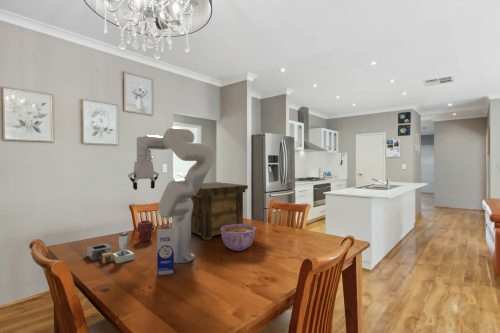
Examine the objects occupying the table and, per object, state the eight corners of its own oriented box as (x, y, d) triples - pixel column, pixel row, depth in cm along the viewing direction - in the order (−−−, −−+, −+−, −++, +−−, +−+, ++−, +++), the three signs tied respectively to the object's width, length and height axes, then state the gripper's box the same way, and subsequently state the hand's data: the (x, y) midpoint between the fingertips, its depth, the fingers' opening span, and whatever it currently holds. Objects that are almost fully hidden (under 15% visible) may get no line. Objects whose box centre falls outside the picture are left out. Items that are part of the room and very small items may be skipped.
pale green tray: (134, 259, 133) (134, 253, 133) (117, 263, 127) (117, 257, 127) (128, 255, 139) (128, 249, 139) (111, 259, 133) (111, 253, 133)
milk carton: (157, 275, 114) (156, 229, 113) (157, 269, 120) (157, 225, 120) (174, 273, 116) (174, 228, 115) (174, 267, 122) (174, 224, 122)
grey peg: (128, 257, 133) (129, 233, 133) (120, 259, 130) (120, 234, 130) (126, 255, 136) (126, 231, 136) (117, 257, 133) (117, 233, 133)
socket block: (111, 255, 138) (111, 247, 138) (92, 260, 131) (92, 251, 131) (106, 251, 144) (106, 243, 144) (87, 255, 138) (87, 247, 138)
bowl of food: (252, 256, 138) (252, 233, 138) (215, 253, 142) (215, 231, 142) (258, 244, 158) (258, 224, 157) (226, 242, 162) (226, 223, 161)
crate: (247, 232, 183) (247, 185, 182) (203, 243, 159) (203, 188, 158) (217, 223, 208) (217, 182, 208) (176, 231, 185) (176, 184, 184)
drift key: (112, 261, 130) (112, 253, 130) (103, 263, 127) (103, 255, 127) (105, 256, 137) (105, 248, 137) (97, 258, 134) (97, 250, 134)
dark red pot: (141, 238, 170) (156, 238, 169) (133, 242, 160) (149, 243, 159) (141, 218, 169) (156, 219, 168) (133, 222, 159) (149, 222, 159)
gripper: (155, 158, 158) (155, 187, 159) (125, 158, 146) (125, 189, 147) (161, 158, 153) (161, 188, 153) (130, 158, 141) (131, 190, 141)
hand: (144, 189), depth 150 cm, fingers open, 9 cm apart
